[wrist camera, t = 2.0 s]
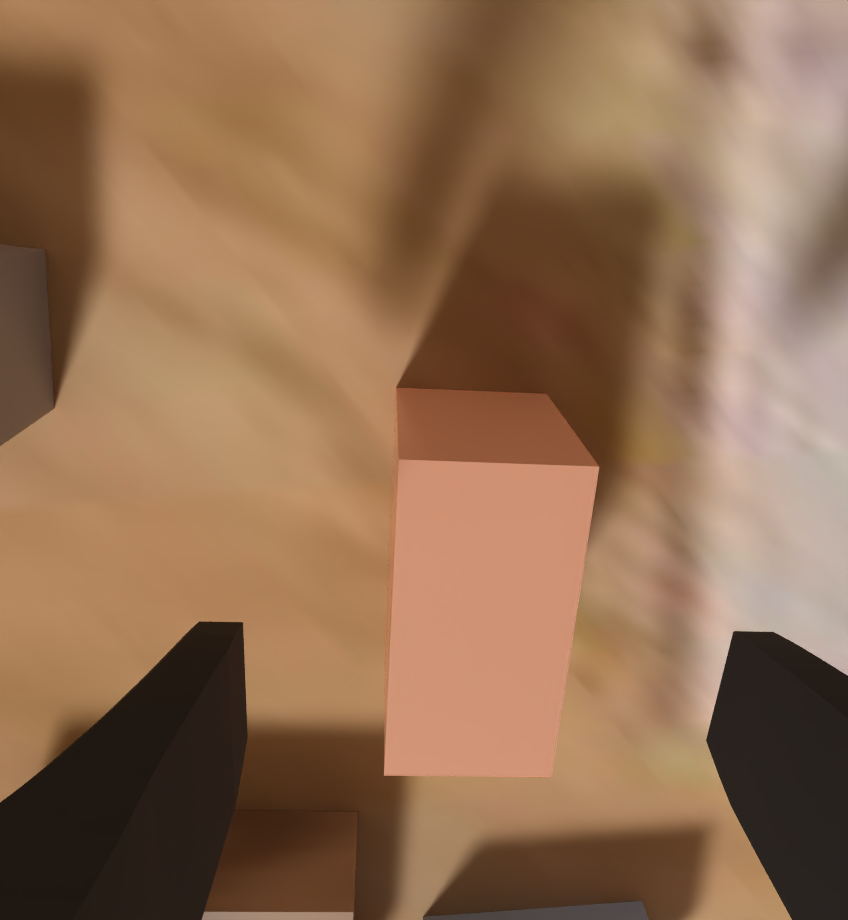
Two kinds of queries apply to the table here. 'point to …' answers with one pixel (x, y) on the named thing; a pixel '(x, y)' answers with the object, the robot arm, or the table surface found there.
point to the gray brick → (24, 340)
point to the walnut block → (286, 867)
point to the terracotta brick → (481, 581)
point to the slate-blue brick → (560, 913)
